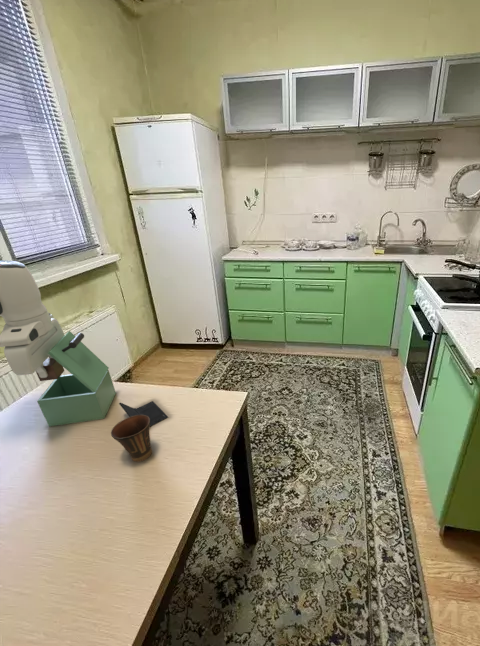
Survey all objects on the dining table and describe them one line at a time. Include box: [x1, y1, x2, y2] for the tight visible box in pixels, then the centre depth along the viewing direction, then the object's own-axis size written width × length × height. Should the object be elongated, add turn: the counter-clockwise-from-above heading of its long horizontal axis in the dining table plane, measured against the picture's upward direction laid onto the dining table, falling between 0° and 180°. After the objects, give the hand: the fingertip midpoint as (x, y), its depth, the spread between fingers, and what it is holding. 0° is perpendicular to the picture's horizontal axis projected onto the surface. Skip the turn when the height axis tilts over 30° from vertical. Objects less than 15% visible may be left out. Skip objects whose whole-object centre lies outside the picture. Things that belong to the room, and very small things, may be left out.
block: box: [35, 357, 65, 382], centre depth 88 cm, size 4×4×4 cm
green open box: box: [36, 369, 117, 427], centre depth 96 cm, size 15×13×10 cm
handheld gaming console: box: [118, 400, 169, 428], centre depth 93 cm, size 12×7×10 cm
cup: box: [110, 415, 153, 463], centre depth 80 cm, size 9×9×10 cm
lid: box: [48, 330, 110, 393], centre depth 91 cm, size 15×13×5 cm
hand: (50, 370), depth 88 cm, fingers closed on block, 4 cm apart
